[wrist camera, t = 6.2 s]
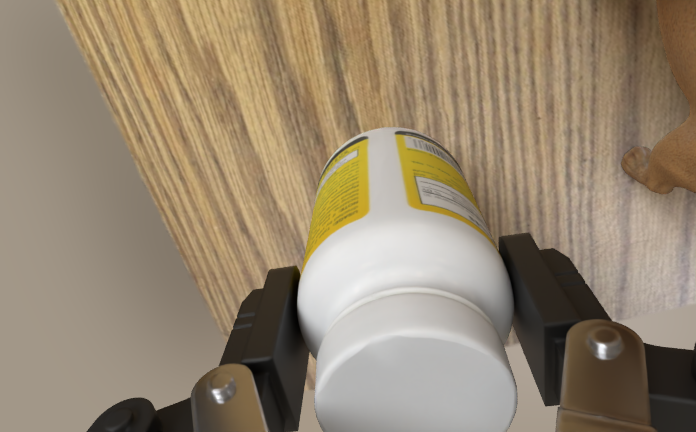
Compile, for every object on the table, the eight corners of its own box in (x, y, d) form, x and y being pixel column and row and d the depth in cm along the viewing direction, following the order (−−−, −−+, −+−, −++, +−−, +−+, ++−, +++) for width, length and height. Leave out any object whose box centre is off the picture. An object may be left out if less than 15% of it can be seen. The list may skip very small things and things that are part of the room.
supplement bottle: (328, 261, 20) (298, 500, 11) (307, 131, 17) (246, 308, 8) (464, 249, 19) (546, 489, 10) (463, 115, 17) (570, 284, 8)
